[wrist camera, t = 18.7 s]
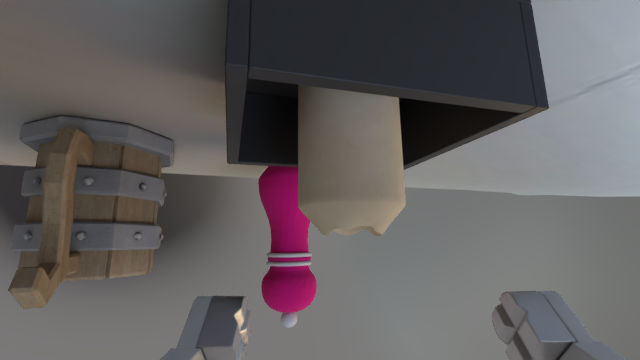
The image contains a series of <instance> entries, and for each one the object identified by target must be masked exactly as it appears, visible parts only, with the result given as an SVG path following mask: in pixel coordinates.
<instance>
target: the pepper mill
mask: <svg viewBox="0 0 640 360" xmlns="http://www.w3.org/2000/svg"><path fill="white" fill-rule="evenodd" d="M259 193H260V197H261V201H262V203H263V206H264V209H265V211H266V213H267V216H268V219H269V223H270V228H271V239H272V241H271V252H270V253H268V254H267V256H268V260H269V261H268V262H267V265H269V266H270V269H269V271H268V273H267V274H266V275H265V276H264V278H263V281H262V295H263V298H264V300H265V302H266V303H267V305H268V306H269V307H270V308H272V309H274V310H276V311H279V312H283V314H282V316H281V322H282V324H283V325H284V326H285V327H292V326H294V325H295V324H296V322H297V315H296V313H295V312H297V311H300V310H303V309H304V308H306V307H307V306H308V305H310V304H311V302H312V301H313V299H314V297H315V293H316V279H315V277H314V275H313V274H312V272H311V271H310V269H309V267H308V265H310V264H311V263H312V261H311V260H310V259H311V257H310V256H311V255H312V254H311V252H308V243H307V238H308V228H309V223H310V220H309V219H308V218H307V217H306V216H305V215H304V214H303V212H302V211H301V210H300V209H299V208H298V167H283V166H268V168H267V169H266V170H265V171H264V172H263V174H262V175H261V176H260V178H259Z"/></svg>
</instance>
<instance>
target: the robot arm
mask: <svg viewBox="0 0 640 360" xmlns="http://www.w3.org/2000/svg"><path fill="white" fill-rule="evenodd" d="M500 301H501V304H500V305H498V306H497V307H495V309H494V311H493V314H492V321H493V326H494V329H495V331H496V333H497V335H498V337H499V338H500V339H501V340H502V341H503V342H504V343H506V344H507V348H506V353H507V356H508V358H509V359H510V360H627V359H625V358H624V357H622V356H621V355H619V354H618V353H616V352H615V351H613V350H612V349H611V348H609V347H608V346H606V345H605V344H603V343H601V342H596V341H595V340H594V339H593V337H592V336H591V335H590V333H589V332H588V331H587V330H586V329H585V327H584V326H583V325H582V323H581V322H580V320H579V319H578V318H577V316H576V315H575V314H574V313H573V311H572V310H571V309H570V307H569V306H568V305H567V303H566V302H565V301H564V300H563V298H562V297H561V296H560V295H559V294H558V293H557V292H555V291H538V292H537V291H520V292H519V291H518V292H505V293H503V294H502V295H501V297H500ZM247 306H248V300H247V296H197V298H196V299H195V300H194V302H193V305H192V308H191V310H190V313H189V316H188V318H187V321H186V324H185V326H184V329H183V332H182V334H181V337H180V340H179V342H178V345H177V348H174V349H173V348H171V349H170V350H169V351H168V352H167V353H166V354H165V355H164V356H163V357H162V358H161V359H160V360H246V352H245V348H244V347H245V345H246V344H247V343H248V342H249V339H250V333H251V313H250V310H248V309H247Z"/></svg>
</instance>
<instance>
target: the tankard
mask: <svg viewBox="0 0 640 360" xmlns="http://www.w3.org/2000/svg"><path fill="white" fill-rule="evenodd" d="M19 139H20V140H21V141H22V142H23V143H25V144H26V145H28V146H29V147H31V148H32V149H34V150H35V151H37V152H38V156H37V162H36V167H35V168H34V169H28V170H26V171H25V174H24V178H23V184H22V189H21V194H22V195H23V196H26V197H29V198H30V202H29V208H28V214H27V220H26V223H18V224H16V225H15V229H14V234H13V240H12V245H11V250H12V251H21V254H20V260H19V266H18V270H17V271H16V273H15V276H14V278H13V280H12V282H11V285H10V287H9V289H8V291H9V292H10V293H11V294H12V296H13V297H14V298H15V299H16V301H17V302H18V303H19V304H20V306H21V307H22V308H23V309H31V308H42V307H44V306H45V305H46V304H47V302H48V301H49V299H50V298H51V296H52V295H53V293H54V292H55V290H56V289H57V287H58V286H59V284H60V283H61V282H62V281H70V280H89V279H90V280H91V279H104V277H105V275H106V278H117V277H126V276H135V275H144V274H147V273H149V272H150V271H151V270H152V264H153V254H154V249H158V248H159V247H160V240H162V239H163V235H162V234H161V228H160V227H159V226H158V225H156V221H157V209H158V206H162V205H163V204H164V197H165V196H166V195H167V192H166V191H165V185H164V180H163V179H162V178H160V177H161V167H169V166H172V165H173V163H174V142H173V141H172V140H171V139H168V138H165V137H163V136H160V135H157V134H155V133H152V132H149V131H147V130H144V129H141V128H139V127H136V126H133V125H131V124H127V123H119V122H111V121H103V120H95V119H87V118H79V117H70V116H62V115H61V116H57V117H53V118H48V119H44V120H40V121H36V122H31V123H27V124H24V125H22V127H21V133H20V138H19Z"/></svg>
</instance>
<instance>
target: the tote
mask: <svg viewBox="0 0 640 360" xmlns="http://www.w3.org/2000/svg"><path fill="white" fill-rule="evenodd" d="M298 85H305V86H313V87H321V88H329V89H337V90H344V91H352V92H360V93H368V94H376V95H384V96H391V97H399V109H400V124H401V139H402V153H403V168H404V170H405V169H407V168H409V167H412V166H414V165H417V164H419V163H421V162H424V161H426V160H428V159H431V158H433V157H436V156H438V155H440V154H443V153H445V152H447V151H450V150H452V149H454V148H457V147H459V146H462V145H464V144H466V143H469V142H471V141H473V140H476V139H478V138H481V137H483V136H485V135H488V134H490V133H492V132H495V131H497V130H499V129H502V128H504V127H507V126H509V125H511V124H514V123H516V122H518V121H521V120H523V119H526V118H528V117H530V116H533V115H535V114H537V113H540V112H542V111H544V110H547V109H549V106H548V100H547V94H546V88H545V82H544V76H543V70H542V64H541V58H540V52H539V46H538V40H537V34H536V28H535V22H534V17H533V11H532V5H531V0H228V12H227V31H226V50H225V91H226V132H227V163H228V164H246V165H264V166H283V167H298Z"/></svg>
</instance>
